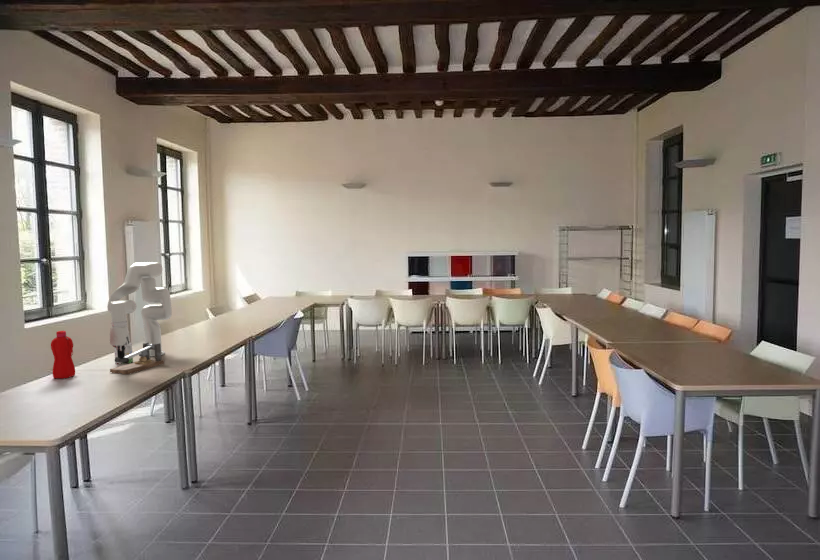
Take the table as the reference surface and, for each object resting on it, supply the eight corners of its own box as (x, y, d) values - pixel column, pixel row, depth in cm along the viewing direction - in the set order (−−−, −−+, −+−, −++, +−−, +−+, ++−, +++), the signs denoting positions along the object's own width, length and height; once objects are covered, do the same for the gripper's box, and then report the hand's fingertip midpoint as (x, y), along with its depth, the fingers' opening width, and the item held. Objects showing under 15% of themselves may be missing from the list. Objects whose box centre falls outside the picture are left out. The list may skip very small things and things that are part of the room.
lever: (149, 350, 333) (148, 343, 332) (159, 350, 330) (158, 343, 329) (115, 365, 310) (114, 357, 309) (125, 366, 307) (124, 358, 306)
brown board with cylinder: (110, 372, 310) (108, 351, 309) (146, 362, 334) (145, 342, 333) (128, 374, 306) (127, 352, 305) (164, 363, 330) (162, 343, 329)
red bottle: (67, 379, 297) (64, 332, 294) (49, 378, 299) (46, 332, 297) (81, 375, 306) (78, 329, 303) (63, 374, 308) (60, 329, 306)
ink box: (133, 361, 336) (132, 342, 335) (129, 363, 331) (128, 343, 330) (119, 362, 336) (117, 342, 335) (114, 364, 331) (113, 344, 330)
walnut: (137, 363, 322) (137, 356, 322) (143, 361, 326) (142, 355, 326) (143, 363, 321) (142, 357, 321) (148, 362, 325) (148, 355, 324)
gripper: (103, 325, 306) (105, 358, 308) (124, 326, 301) (126, 359, 303) (114, 323, 313) (116, 355, 315) (135, 323, 308) (137, 356, 310)
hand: (121, 357), depth 309 cm, fingers closed
